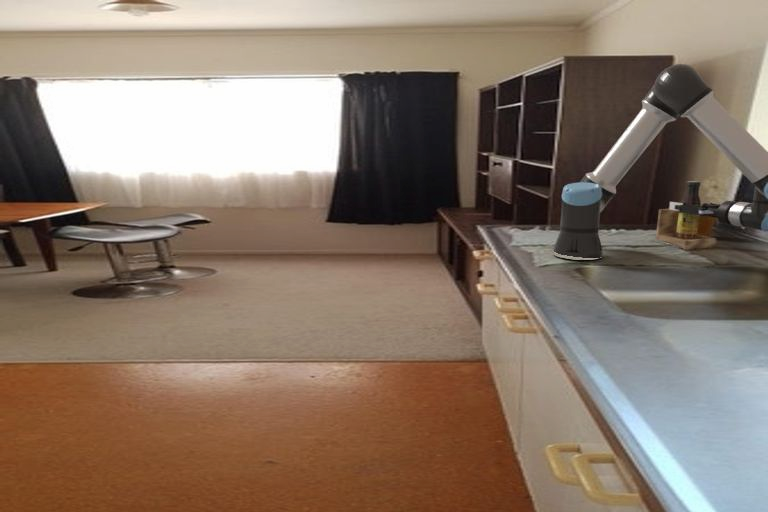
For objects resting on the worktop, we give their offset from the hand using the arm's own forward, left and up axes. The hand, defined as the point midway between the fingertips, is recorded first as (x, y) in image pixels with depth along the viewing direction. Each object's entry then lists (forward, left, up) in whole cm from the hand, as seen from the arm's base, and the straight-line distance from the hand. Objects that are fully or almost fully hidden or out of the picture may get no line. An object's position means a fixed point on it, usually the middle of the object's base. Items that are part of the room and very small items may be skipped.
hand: (678, 205), depth 177 cm
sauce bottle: (0, -5, -11) cm, 12 cm away
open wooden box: (0, -5, -13) cm, 14 cm away
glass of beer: (+16, +5, -14) cm, 22 cm away
